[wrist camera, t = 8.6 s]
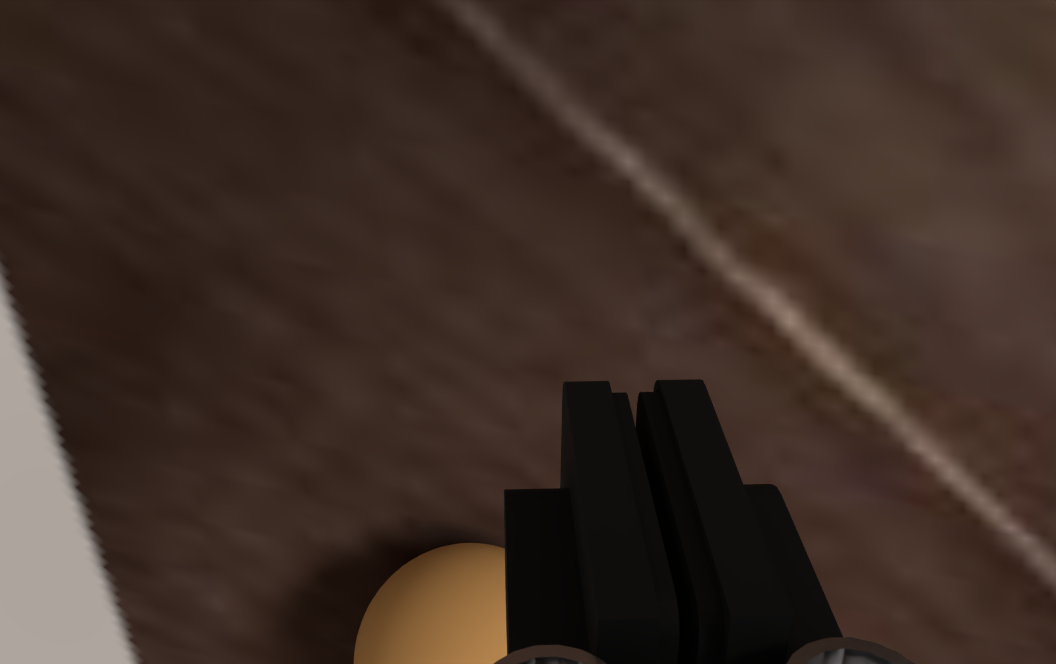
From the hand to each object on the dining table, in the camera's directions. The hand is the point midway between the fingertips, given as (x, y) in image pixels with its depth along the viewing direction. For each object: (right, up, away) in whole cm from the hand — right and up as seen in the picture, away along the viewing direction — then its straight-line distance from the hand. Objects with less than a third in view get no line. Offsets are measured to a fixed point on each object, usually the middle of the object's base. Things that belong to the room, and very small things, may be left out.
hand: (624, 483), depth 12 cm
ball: (-3, -7, +14) cm, 16 cm away
